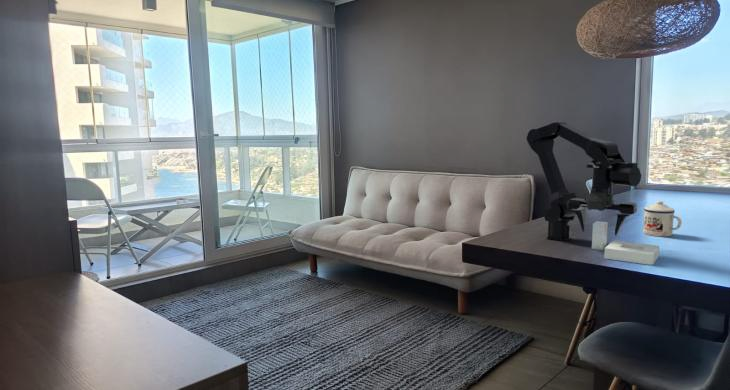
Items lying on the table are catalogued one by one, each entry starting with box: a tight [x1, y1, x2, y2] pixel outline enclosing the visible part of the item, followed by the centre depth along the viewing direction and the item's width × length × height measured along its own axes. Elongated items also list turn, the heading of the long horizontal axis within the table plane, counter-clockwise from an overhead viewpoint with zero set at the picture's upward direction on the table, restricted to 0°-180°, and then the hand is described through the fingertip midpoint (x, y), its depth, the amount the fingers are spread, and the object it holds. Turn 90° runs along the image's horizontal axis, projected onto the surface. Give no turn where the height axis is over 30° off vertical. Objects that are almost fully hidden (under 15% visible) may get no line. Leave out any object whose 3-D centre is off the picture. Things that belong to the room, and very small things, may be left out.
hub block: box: [603, 239, 660, 266], centre depth 136 cm, size 12×12×3 cm
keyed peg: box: [591, 220, 609, 251], centre depth 147 cm, size 3×5×8 cm
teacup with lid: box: [642, 200, 683, 238], centre depth 163 cm, size 12×9×12 cm
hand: (599, 233), depth 147 cm, fingers open, 9 cm apart
